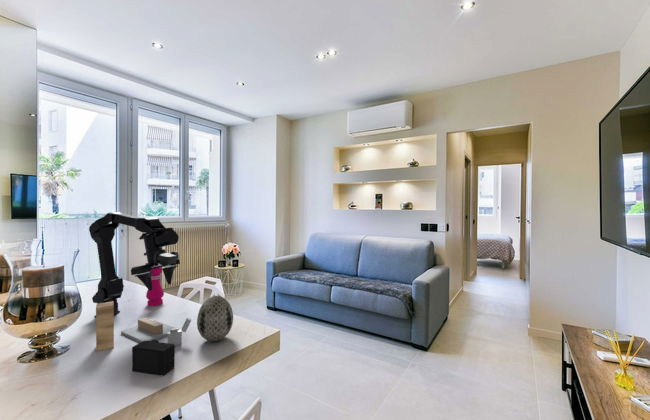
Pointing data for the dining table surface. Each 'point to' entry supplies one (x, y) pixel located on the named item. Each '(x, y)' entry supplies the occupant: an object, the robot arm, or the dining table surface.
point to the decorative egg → (215, 318)
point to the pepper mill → (155, 288)
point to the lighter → (177, 333)
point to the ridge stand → (147, 330)
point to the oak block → (104, 326)
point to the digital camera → (153, 357)
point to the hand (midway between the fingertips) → (160, 287)
